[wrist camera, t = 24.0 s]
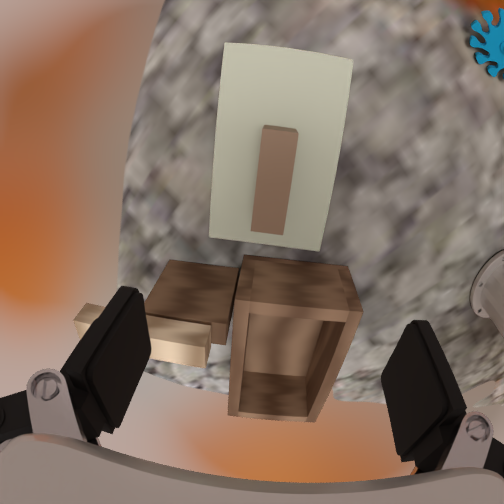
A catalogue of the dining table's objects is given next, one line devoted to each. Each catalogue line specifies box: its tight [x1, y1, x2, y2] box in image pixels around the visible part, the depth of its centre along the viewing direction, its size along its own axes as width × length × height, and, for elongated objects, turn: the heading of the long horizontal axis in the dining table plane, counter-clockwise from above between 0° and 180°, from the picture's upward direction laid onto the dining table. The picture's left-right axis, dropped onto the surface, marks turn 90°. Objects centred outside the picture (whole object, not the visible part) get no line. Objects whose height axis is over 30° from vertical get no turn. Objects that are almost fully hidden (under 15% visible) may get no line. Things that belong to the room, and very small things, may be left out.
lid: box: [209, 43, 353, 251], centre depth 29 cm, size 13×22×6 cm, turn 174°
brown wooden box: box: [144, 255, 363, 422], centre depth 38 cm, size 22×22×10 cm
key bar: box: [74, 303, 211, 368], centre depth 28 cm, size 14×3×3 cm, turn 85°
